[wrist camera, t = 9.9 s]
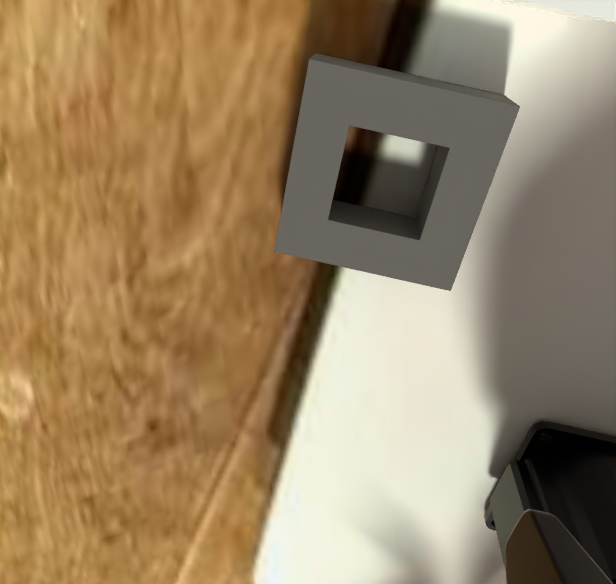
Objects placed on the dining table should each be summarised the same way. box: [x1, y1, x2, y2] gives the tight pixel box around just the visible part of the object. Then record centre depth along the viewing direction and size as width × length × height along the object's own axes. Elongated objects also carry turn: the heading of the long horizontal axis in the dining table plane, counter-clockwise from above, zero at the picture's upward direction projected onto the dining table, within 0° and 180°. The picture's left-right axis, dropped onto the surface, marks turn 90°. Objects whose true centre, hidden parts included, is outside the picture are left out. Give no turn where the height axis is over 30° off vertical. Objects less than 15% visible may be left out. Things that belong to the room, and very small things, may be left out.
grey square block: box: [274, 53, 520, 291], centre depth 17 cm, size 6×6×2 cm
